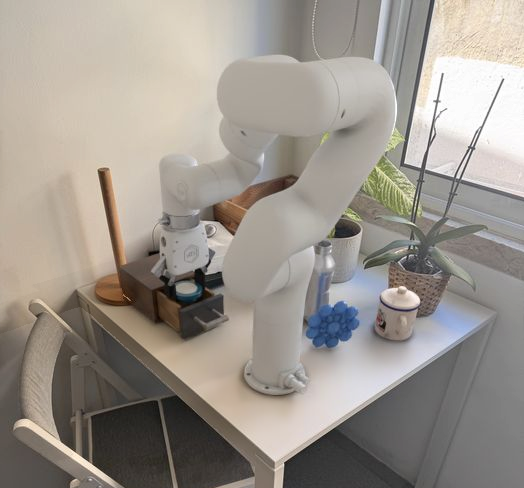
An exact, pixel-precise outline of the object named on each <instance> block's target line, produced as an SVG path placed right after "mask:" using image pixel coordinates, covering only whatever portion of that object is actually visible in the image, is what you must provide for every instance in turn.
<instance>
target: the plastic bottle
mask: <svg viewBox="0 0 524 488" xmlns="http://www.w3.org/2000/svg"><path fill="white" fill-rule="evenodd" d="M332 248H333V243H332V242H331V241H329V240H326V239H324V240H322V241H321V242H319V243H317V244H315V245H314V253H315V261H314V267H313V271H312V275H311V278H310V281H309V285H308V288H307V294H306V299H305V307H304V316H303V320H304V321H306V322H307V323H308V319H309V318H310V317H311V316H312V315H315V314H318V315H319V309H320V308H321V307H322V306H323V305H326V304H330V291H331V286H332V281H333V277H334V274H335V270H336V263H335V260H334V258H333V257H332V255H331V254H332V252H333V251H332Z"/></svg>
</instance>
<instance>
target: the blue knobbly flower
mask: <svg viewBox="0 0 524 488" xmlns="http://www.w3.org/2000/svg"><path fill="white" fill-rule="evenodd" d="M358 314H359V309H358V308H357V307H356V306H353V305H352V306H348V303H347V302H346V301H344V300H340V301H337V302H336V303H335V304H333V306H332V304H330V303H329V304H326V305H323V306H322V307H321V308H320V309H319V315H318V314H315V315H312V316H311V317H310V318H309V319H308V322H307V325H308V326H309V327H308V328H307V329H306V330H305V337H306V338H307V339H308V340H311V344H312V345H313V346H314V347H315V348H320V347H323V346H324V345H325V347H327V348H328V349H333V348H336V347H337V346H338V344H339V343H340V342H343V343H344V342H348V341H349V340H350V339H351V338H352V336H353V331H355V330H356V329H358V328H359V327H360V324H361V323H360V319H359V318H358V317H357V316H358Z"/></svg>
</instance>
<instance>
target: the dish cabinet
mask: <svg viewBox="0 0 524 488" xmlns="http://www.w3.org/2000/svg"><path fill="white" fill-rule="evenodd" d="M159 260H160V252H159V253H156V254H152V255H148V256H145V257H143V258H139V259H137V260H134V261H131V262H127V263H124V264H121V265H119V266H118V272H119V279H120V284H121V285H120V286H121V291H122V297H123V298H122V299H123V300H124V301H125V302H127V303H128V304H129V305H130V306H132V307H133V308H134V309H136V310H137V311H139V312H140V313H141V314H142V315H144V316H145V317H146V318H147V319H149V320H150V321H151V322H152V323H154V324H158V323H161V322H164V320H162V319H161V318H160V317H158V316H157V307H156V297H155V292H156V291H158V290H161V289H164V288H165V284H164V282H163V281H161V280H160V279H158V278H157V277H156V276H154V275H153V274H152V273H151V270H152V269H153V267H154V266H155V265H156V263H157V262H158V261H159ZM164 271H165V269H162V270H161V274H164ZM194 271H195V270H193V271H190V272H187V273H184V274H181V275H178V276H176V278H175V280H174V283H177V282H180V281H185V280H188V279H191V278H192V279H194V280H195V278H194ZM169 277H170V274H169ZM169 277H168V278H169ZM174 283H173V284H174ZM123 294H124V295H125V296H126V297H128V298H129V299H130V300H131V301H129V300H128V299H127V298H126V297H124V296H123Z"/></svg>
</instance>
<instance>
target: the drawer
mask: <svg viewBox="0 0 524 488" xmlns="http://www.w3.org/2000/svg"><path fill="white" fill-rule="evenodd" d="M185 281H194V282H195V280H194V279H192V278H191V279H188V280H185ZM155 297H156V307H157V316H158V317H160V318H161V319H162V320H163V322H165V323H166V324H167V325H169V326H170V327H172V328H173V329H174V330H175V331H176V332H178V333H179V334H180V338H181V340H184V341H185V340H187V339H189V338H190V339H191V338H192V337H194V336H196V335H198V334H201V333H202V332H203V333H204V332H205V331H208V330H210V329H213V328H215V327H218V326H219V325H222V324H224V323H226V322H229V320H230V319H229V316H228V315H227V314H225V310H224V309H225V307H224V304H225V303H224V302H225V301H224V294H223V293H221V292H219V293H217V294H215V292H214V291H212V290H211V289H209V288H208V287H206V286H205V289H204V290H202V295H201V296H200V297H198V298H197V300H196V301H195V302H193V303H188V304H185V303H180V302H178V301H177V300H176V301H173V300H171V299H170V298H169V297H167V296H166V294H165V288H164V289H161V290H158V291H156V292H155Z"/></svg>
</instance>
